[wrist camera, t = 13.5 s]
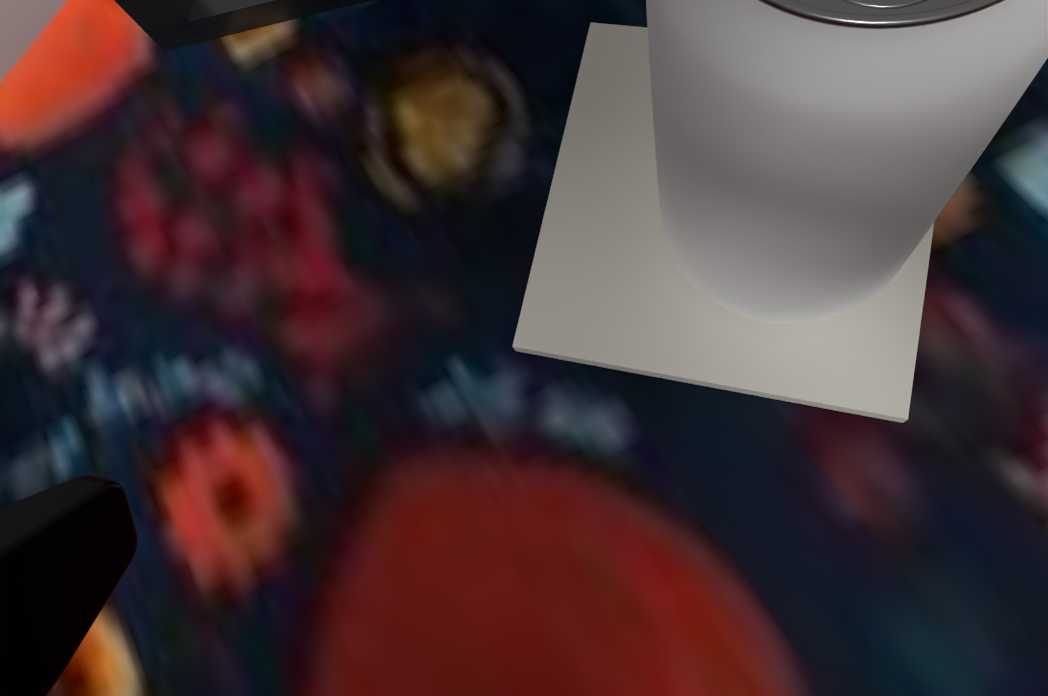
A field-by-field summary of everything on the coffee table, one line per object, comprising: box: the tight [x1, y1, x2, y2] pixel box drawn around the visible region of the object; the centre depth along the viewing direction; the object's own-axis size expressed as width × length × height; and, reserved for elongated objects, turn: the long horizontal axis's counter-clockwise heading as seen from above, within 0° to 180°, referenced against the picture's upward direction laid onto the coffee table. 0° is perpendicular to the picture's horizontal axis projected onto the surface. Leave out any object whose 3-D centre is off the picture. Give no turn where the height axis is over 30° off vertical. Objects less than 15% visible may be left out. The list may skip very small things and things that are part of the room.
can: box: [646, 0, 1048, 324], centre depth 17 cm, size 6×6×12 cm
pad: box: [513, 23, 934, 423], centre depth 23 cm, size 10×10×1 cm
